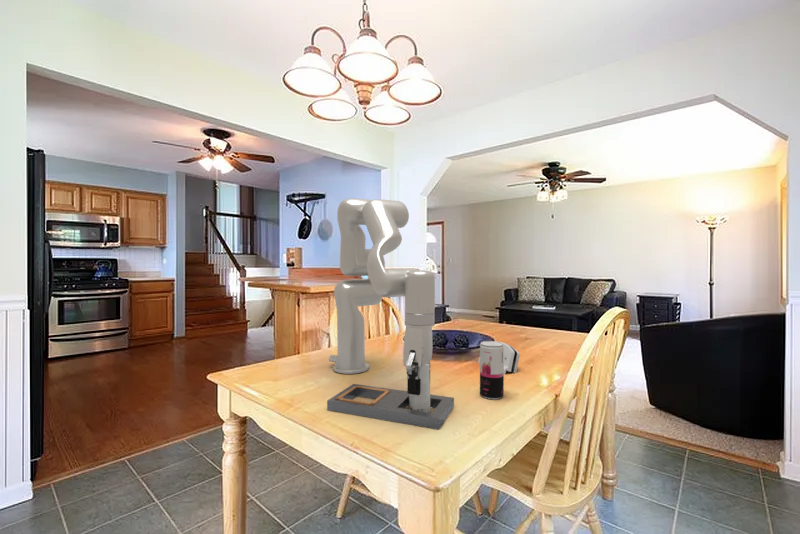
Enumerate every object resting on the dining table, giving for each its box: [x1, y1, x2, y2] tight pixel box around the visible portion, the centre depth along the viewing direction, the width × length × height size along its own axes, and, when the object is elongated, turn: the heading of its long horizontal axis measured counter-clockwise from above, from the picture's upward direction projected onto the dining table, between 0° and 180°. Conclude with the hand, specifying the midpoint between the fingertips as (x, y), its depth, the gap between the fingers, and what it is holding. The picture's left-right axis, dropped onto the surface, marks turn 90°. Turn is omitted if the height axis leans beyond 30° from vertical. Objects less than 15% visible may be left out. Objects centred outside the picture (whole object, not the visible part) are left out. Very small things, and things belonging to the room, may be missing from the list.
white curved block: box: [477, 341, 520, 375], centre depth 136 cm, size 17×5×10 cm, turn 21°
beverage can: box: [479, 340, 505, 400], centre depth 108 cm, size 6×6×15 cm
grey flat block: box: [326, 383, 455, 430], centre depth 99 cm, size 30×14×3 cm, turn 68°
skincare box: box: [409, 363, 431, 413], centre depth 96 cm, size 6×4×12 cm
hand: (419, 388), depth 96 cm, fingers closed on skincare box, 7 cm apart
